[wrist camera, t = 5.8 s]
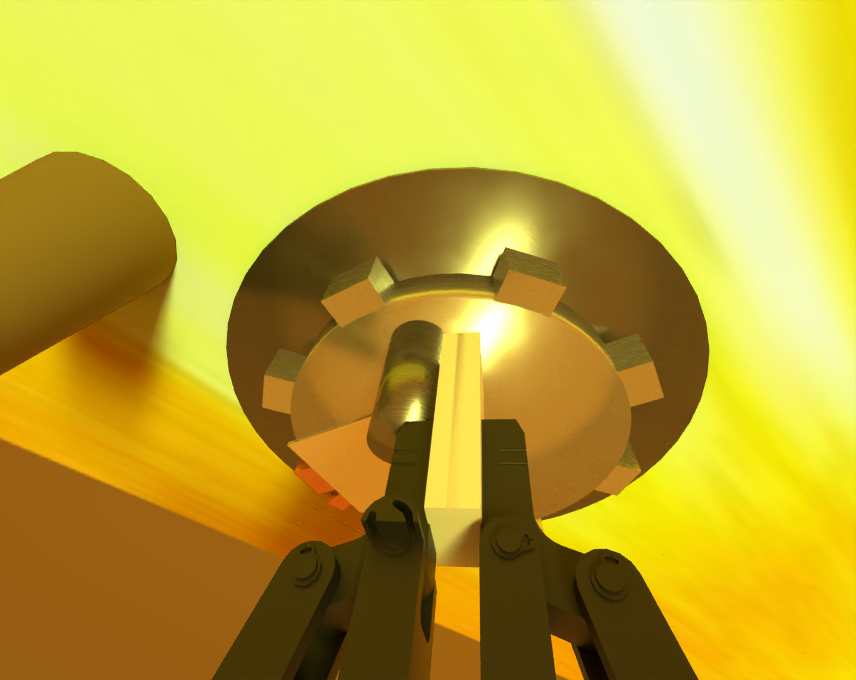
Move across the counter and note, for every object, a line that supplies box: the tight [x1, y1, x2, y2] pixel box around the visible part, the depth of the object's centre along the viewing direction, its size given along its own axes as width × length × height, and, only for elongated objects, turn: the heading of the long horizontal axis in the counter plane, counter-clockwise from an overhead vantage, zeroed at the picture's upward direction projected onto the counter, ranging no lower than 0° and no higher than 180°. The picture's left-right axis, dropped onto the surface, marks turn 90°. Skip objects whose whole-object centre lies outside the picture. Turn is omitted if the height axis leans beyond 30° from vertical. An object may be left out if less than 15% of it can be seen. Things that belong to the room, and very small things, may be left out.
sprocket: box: [262, 247, 664, 531], centre depth 19 cm, size 19×19×7 cm
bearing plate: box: [226, 167, 709, 520], centre depth 22 cm, size 24×24×1 cm
